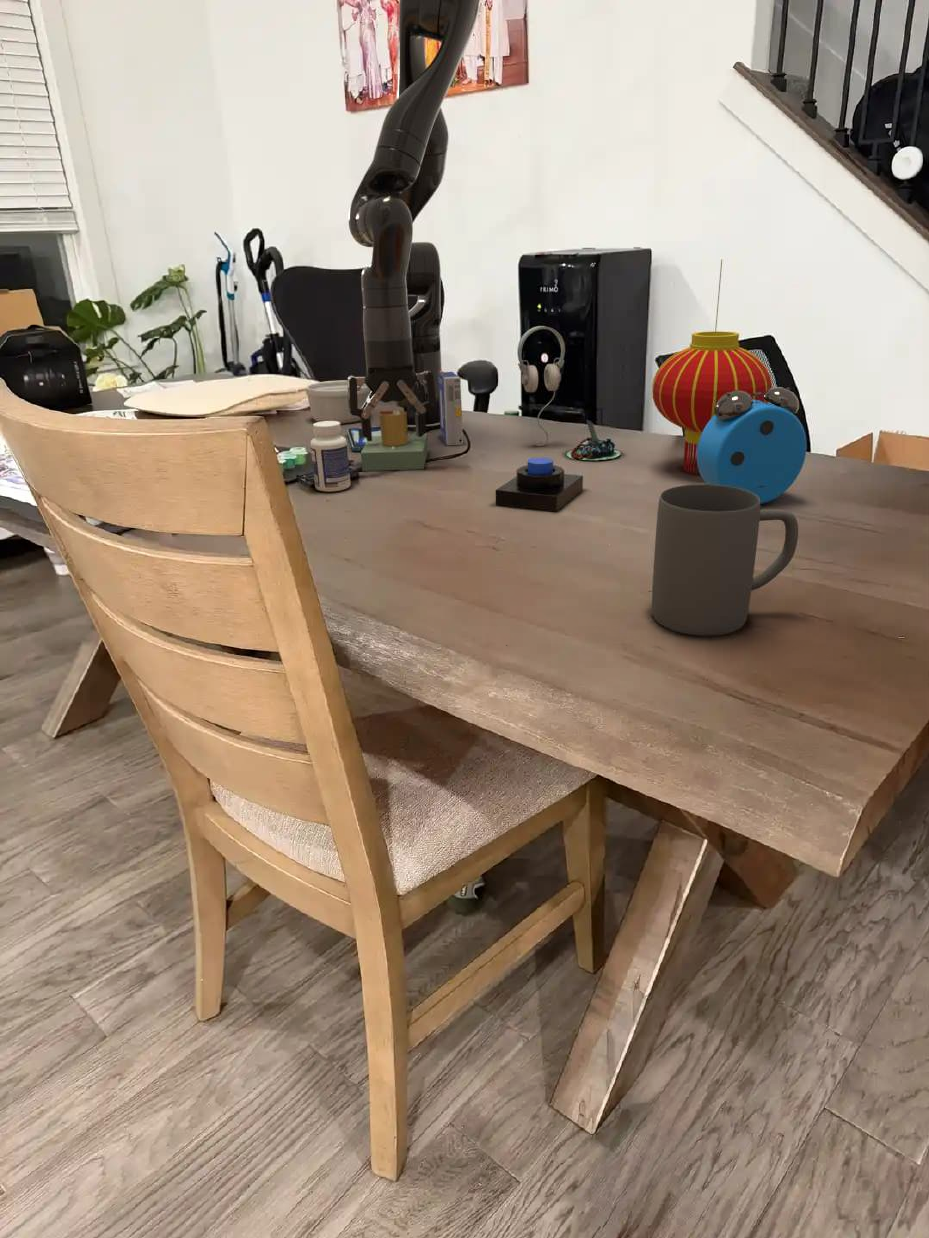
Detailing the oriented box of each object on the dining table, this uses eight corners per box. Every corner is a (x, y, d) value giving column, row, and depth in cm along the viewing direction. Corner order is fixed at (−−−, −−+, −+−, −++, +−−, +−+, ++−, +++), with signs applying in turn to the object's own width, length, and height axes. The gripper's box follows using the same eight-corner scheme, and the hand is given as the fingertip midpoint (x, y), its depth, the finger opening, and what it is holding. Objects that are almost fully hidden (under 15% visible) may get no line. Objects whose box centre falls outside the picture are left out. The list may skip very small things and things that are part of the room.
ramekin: (377, 412, 182) (375, 379, 179) (365, 425, 170) (363, 390, 167) (317, 413, 183) (314, 380, 180) (301, 426, 171) (297, 391, 168)
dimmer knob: (409, 439, 143) (407, 408, 140) (406, 445, 139) (404, 413, 136) (383, 440, 143) (381, 408, 141) (380, 446, 139) (377, 414, 137)
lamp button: (533, 468, 121) (532, 456, 120) (556, 470, 119) (556, 458, 118) (523, 475, 118) (523, 462, 117) (547, 477, 116) (547, 464, 116)
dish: (612, 447, 135) (588, 414, 138) (578, 476, 138) (556, 443, 141) (632, 460, 142) (609, 428, 145) (599, 488, 145) (577, 456, 148)
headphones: (559, 441, 151) (560, 324, 143) (567, 446, 148) (569, 326, 139) (515, 445, 149) (514, 327, 141) (522, 450, 146) (521, 329, 138)
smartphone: (352, 447, 148) (346, 428, 162) (352, 453, 149) (346, 433, 162) (393, 444, 150) (384, 425, 163) (394, 449, 150) (385, 430, 163)
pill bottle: (357, 484, 130) (351, 420, 125) (338, 494, 125) (332, 428, 121) (328, 481, 132) (321, 418, 128) (308, 490, 127) (300, 426, 123)
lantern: (784, 468, 129) (811, 256, 117) (715, 491, 120) (737, 263, 107) (693, 450, 142) (709, 256, 129) (624, 470, 132) (633, 262, 119)
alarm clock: (776, 490, 119) (789, 381, 113) (801, 502, 114) (817, 389, 108) (691, 499, 117) (700, 389, 110) (713, 512, 111) (724, 396, 105)
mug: (669, 641, 77) (679, 515, 72) (638, 602, 86) (644, 487, 81) (810, 628, 79) (829, 504, 74) (765, 591, 87) (780, 477, 82)
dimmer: (370, 453, 148) (369, 435, 146) (427, 451, 147) (426, 433, 146) (362, 471, 137) (360, 451, 135) (423, 469, 137) (422, 450, 135)
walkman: (440, 436, 158) (437, 370, 153) (455, 435, 158) (452, 369, 153) (447, 446, 151) (444, 377, 146) (463, 444, 151) (460, 376, 146)
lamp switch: (525, 484, 126) (525, 458, 125) (582, 490, 123) (583, 463, 121) (495, 505, 117) (495, 477, 116) (556, 512, 114) (556, 483, 112)
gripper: (345, 341, 129) (355, 446, 136) (436, 335, 132) (441, 439, 139) (340, 336, 136) (349, 437, 142) (426, 331, 139) (431, 430, 145)
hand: (394, 438), depth 140 cm, fingers open, 8 cm apart
